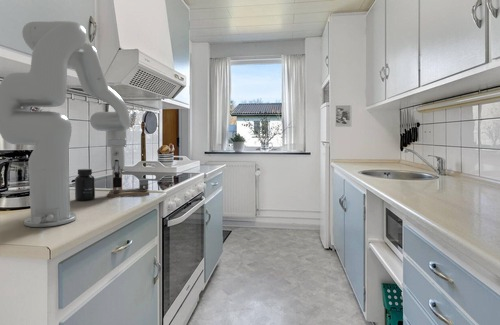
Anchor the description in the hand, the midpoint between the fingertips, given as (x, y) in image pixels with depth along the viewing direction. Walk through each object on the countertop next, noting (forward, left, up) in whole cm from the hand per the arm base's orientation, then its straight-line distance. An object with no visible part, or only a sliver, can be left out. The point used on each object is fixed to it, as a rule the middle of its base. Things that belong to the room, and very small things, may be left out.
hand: (117, 185), depth 127 cm
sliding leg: (-1, 0, -2) cm, 2 cm away
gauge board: (0, -5, -4) cm, 6 cm away
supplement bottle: (-7, +11, -4) cm, 14 cm away
